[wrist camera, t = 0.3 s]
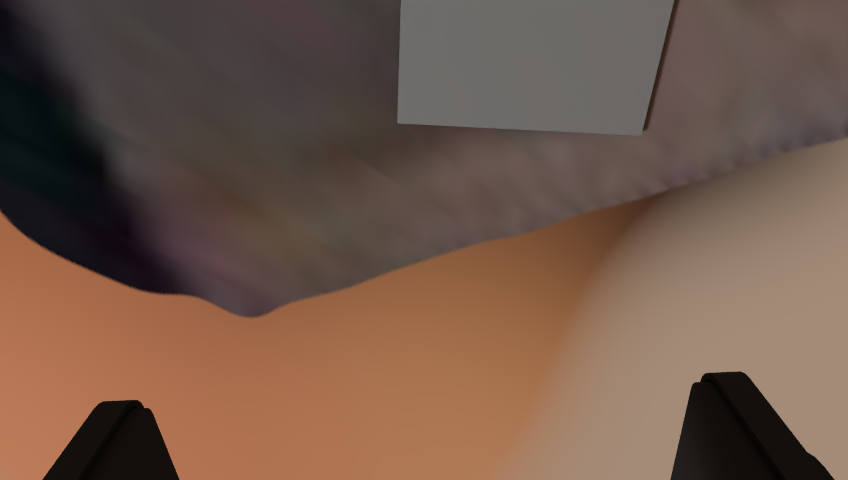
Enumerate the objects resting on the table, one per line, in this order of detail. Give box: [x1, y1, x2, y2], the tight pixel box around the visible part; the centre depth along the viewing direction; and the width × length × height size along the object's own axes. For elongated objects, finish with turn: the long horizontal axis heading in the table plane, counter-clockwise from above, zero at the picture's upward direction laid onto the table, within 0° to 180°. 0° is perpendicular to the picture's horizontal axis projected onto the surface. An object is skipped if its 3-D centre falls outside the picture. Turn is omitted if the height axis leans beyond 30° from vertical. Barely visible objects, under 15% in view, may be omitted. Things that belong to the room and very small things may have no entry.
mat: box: [397, 0, 674, 136], centre depth 34 cm, size 16×17×1 cm
